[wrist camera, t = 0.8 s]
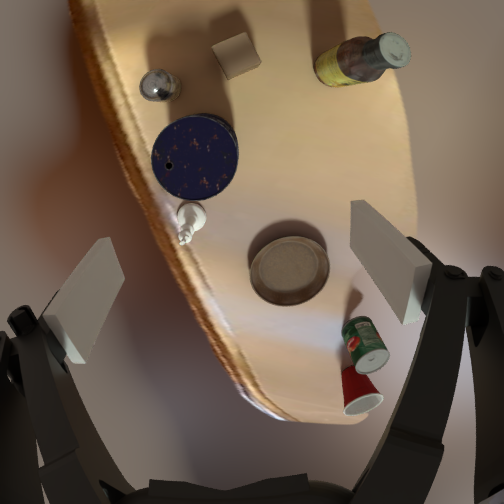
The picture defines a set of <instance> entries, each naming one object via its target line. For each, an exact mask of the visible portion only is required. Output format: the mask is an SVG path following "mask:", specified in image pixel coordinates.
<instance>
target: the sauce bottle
mask: <svg viewBox="0 0 504 504" xmlns="http://www.w3.org/2000/svg"><path fill="white" fill-rule="evenodd" d="M410 58H411V51H410V47H409V45H408V43H407V42H406V40H405V39H404V38H402V37H401V36H400V35H398V34H396V33H392V32H388V33H384V34H381V35H379V36H378V37H377V38H376V39H372V38H369V37H355V38H352V39H350V40H347V41H345V42H343V43H341V44H339V45H337V46H335V47H333V48H331V49H330V50H328V51H326V52H324V53H323V54H322V55H320V56H319V57H318V58H317V60H316V62H315V66H314V71H315V74H316V76H317V78H318V79H319V81H320V82H322V83H323V84H325V85H327V86H330V87H344V86H349V85H355V84H361V83H368V82H372V81H375V80H377V79H379V78H380V77H381V75H382V74H383V73H384V71H385V70H386V69H388V68H392V69H397V68H401V67H404V66H406V65H407V64H408V63H409V62H410Z"/></svg>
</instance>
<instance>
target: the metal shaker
mask: <svg viewBox="0 0 504 504" xmlns="http://www.w3.org/2000/svg"><path fill="white" fill-rule="evenodd" d="M139 88H140V93H141V95H142V96H143V97H144V98H145V99H147V100H149V101H156V102H170V101H172V100H174V99H175V98H177V96H178V95H179V94H180V91H181V83H180V81H179V79H178V78H177V77H175V76H174V75H172V74H170V73H168V72H166V71H164V70H161V69H155V70H151V71H149V72H148V73H146V74H145V75H144V76H143V78H142V79H141V82H140V86H139Z"/></svg>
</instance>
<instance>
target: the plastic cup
mask: <svg viewBox="0 0 504 504" xmlns="http://www.w3.org/2000/svg"><path fill="white" fill-rule="evenodd" d="M341 378H342V387H343V395H344V410H343V413H344V414H345V415H347V416H355V415H359V414H363V413H365V412H368V411H370V410H372V409H373V408H375V407H377V406H378V405H379V404H380V403H381V402H382V401H383V399H384V398H383V395H382V394H380V393H379V392H378V391H377V389H376V388H375V387H374V385H373V384H372V382H371V381H370V379H369V378H368V376H367V375H366V374H360V373H358V372H357V371H356V368H355V366H350V367H348V368H346V369H345V370H344V371H343V372H342V377H341Z"/></svg>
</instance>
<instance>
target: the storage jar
mask: <svg viewBox="0 0 504 504" xmlns="http://www.w3.org/2000/svg"><path fill="white" fill-rule="evenodd" d="M238 159H239V149H238V141H237V137H236V134H235V132H234V130H233V128H232V127H231V125H230V124H229V123H228V122H227V121H226V120H224V119H223V118H221V117H219V116H217V115H214V114H208V113H201V114H195V115H189V116H185V117H183V118H180V119H178V120H175V121H174V122H172V123H170V124H169V125H168V126H166V127H165V128H164V129H163V130H162V131H161V132H160V134H159V135H158V137H157V138H156V140H155V143H154V145H153V149H152V154H151V165H152V169H153V173H154V175H155V177H156V179H157V181H158V183H159V184H160V185H161V186H162V188H164V189H165V190H166V191H167V192H168V193H170V194H171V195H173V196H175V197H177V198H180V199H183V200H188V201H201V200H206V199H209V198H212V197H214V196H216V195H217V194H219V193H220V192H222V191H223V190H224V189H225V188H226V187H227V186H228V185H229V184H230V182H231V181H232V179H233V177H234V175H235V173H236V170H237V165H238Z"/></svg>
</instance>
